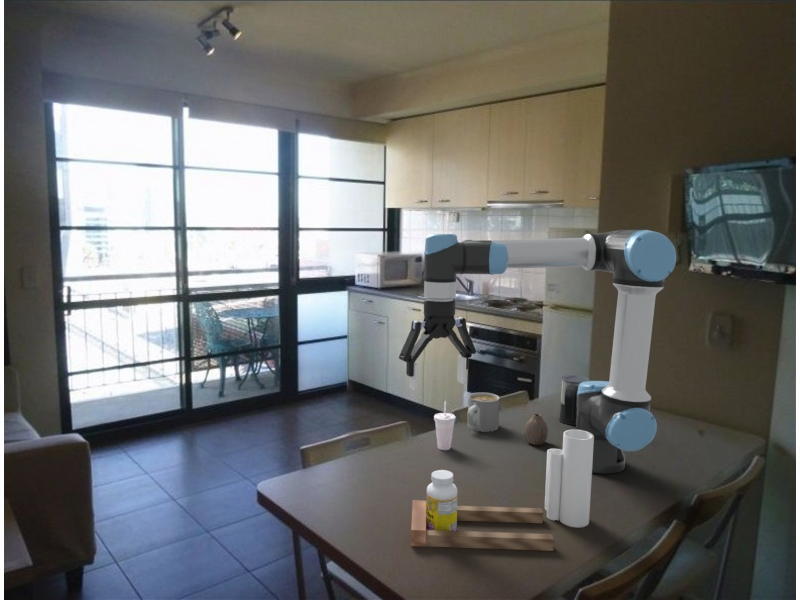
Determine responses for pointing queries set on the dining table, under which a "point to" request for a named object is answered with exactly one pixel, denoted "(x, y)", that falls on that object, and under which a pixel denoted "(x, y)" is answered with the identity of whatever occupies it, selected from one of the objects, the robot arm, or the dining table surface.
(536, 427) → the vase
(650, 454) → the dining table surface
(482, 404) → the coffee mug
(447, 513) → the supplement bottle
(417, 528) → the channel
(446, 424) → the smoothie
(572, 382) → the milk frother
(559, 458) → the white joined tall cylinders
